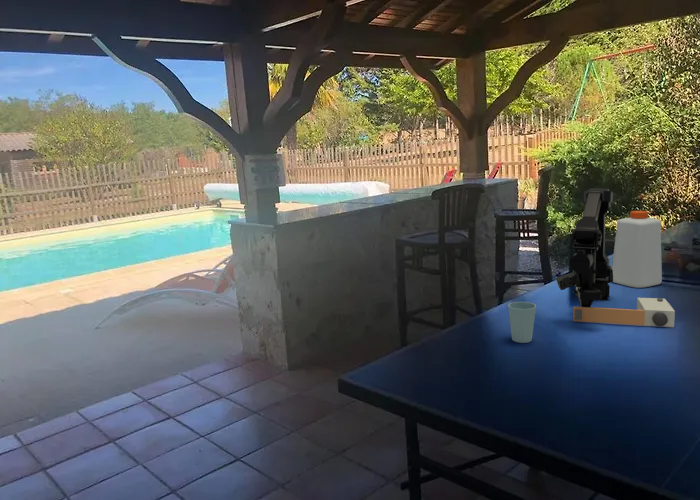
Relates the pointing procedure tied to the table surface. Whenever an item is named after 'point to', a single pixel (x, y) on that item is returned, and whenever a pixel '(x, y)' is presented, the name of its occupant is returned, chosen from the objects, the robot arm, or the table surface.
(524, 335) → the cup
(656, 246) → the plastic bottle
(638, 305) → the camera housing
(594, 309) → the side door
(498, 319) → the table surface
